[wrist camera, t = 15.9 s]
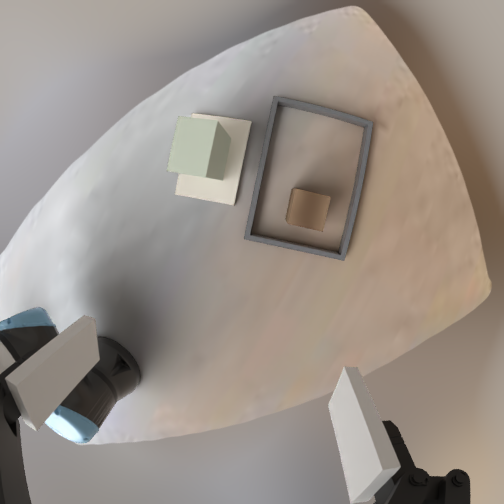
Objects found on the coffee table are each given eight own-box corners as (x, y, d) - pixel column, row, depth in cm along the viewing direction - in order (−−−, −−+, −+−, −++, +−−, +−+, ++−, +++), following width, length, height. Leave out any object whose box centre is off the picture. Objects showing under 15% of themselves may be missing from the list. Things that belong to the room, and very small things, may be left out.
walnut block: (285, 218, 45) (288, 223, 38) (291, 188, 44) (295, 188, 37) (314, 225, 45) (322, 231, 38) (321, 195, 44) (330, 196, 37)
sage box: (192, 175, 43) (166, 171, 31) (201, 134, 42) (178, 116, 30) (222, 180, 43) (205, 177, 31) (231, 138, 42) (217, 120, 30)
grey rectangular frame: (245, 237, 46) (243, 239, 44) (273, 99, 41) (273, 95, 39) (341, 257, 46) (344, 260, 44) (369, 124, 40) (373, 122, 38)
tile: (176, 194, 45) (174, 194, 44) (193, 114, 42) (191, 113, 41) (234, 205, 45) (233, 205, 44) (251, 122, 42) (251, 121, 41)
